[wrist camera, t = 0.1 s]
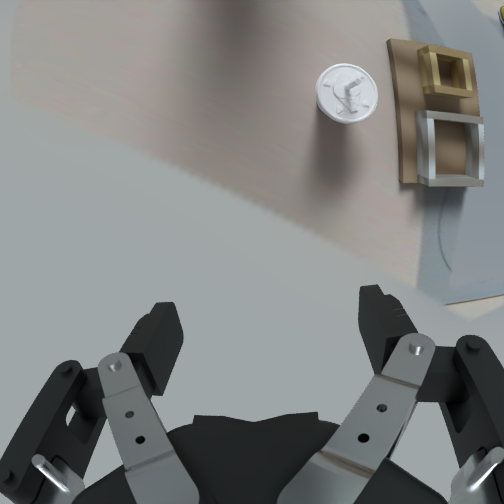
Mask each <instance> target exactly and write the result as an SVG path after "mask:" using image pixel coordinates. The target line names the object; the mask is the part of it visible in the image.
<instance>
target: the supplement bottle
mask: <svg viewBox="0 0 504 504" xmlns="http://www.w3.org/2000/svg"><path fill="white" fill-rule="evenodd" d="M499 16H500V19H501V21H502V23H503V24H504V6H502V7H500V9H499Z"/></svg>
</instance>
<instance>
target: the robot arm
mask: <svg viewBox="0 0 504 504" xmlns="http://www.w3.org/2000/svg"><path fill="white" fill-rule="evenodd" d="M358 323H359V330H360V333H361V336H362V339H363V341H364V344H365V347H366V350H367V353H368V356H369V359H370V362H371V365H372V368H373V371H374V374H375V375H374V376H373V378H372V380H371V381H370V383H369V384H368V386H367V387H366V389H365V390H364V392H363V393H362V395H361V396H360V398H359V399H358V401H357V402H356V404H355V405H354V407H353V409H352V410H351V411H350V413H349V414H348V415H347V417H346V418H345V420H344V421H343V423H342V424H341V425H338V424H335V423H332V422H328V421H321V420H319V419H318V412H309V413H297V414H286V415H282V416H278V417H274V418H270V419H266V420H262V421H257V422H250V421H245V420H240V419H234V418H230V417H226V416H202V415H194V419H193V423H192V424H188V425H184V426H181V427H178V428H176V429H173V430H171V431H169V432H168V433H167V431H166V429H165V427H164V425H163V423H162V422H161V420H160V418H159V416H158V414H157V412H156V410H155V408H154V406H153V404H152V402H151V400H150V399H151V397H152V395H156V396H162V395H163V393H164V391H165V388H166V385H167V383H168V380H169V377H170V375H171V372H172V370H173V367H174V365H175V362H176V359H177V357H178V354H179V352H180V349H181V347H182V344H183V330H182V327H181V324H180V320H179V317H178V313H177V310H176V307H175V304H174V303H173V302H161V303H160V302H159V303H156V304H155V305H154V307H153V308H152V310H151V312H150V313H149V314H146V315H144V317H142V318H141V319H140V320H139V321H138V322H137V324H136V325H135V327H134V329H133V330H132V332H131V333H130V334H131V335H129V336H128V338H127V340H126V341H125V343H124V344H123V346H122V348H121V350H120V351H119V352H117V353H112V354H110V355H107V356H106V357H104V358H103V359H102V360H101V361H100V362H99V364H98V367H96V368H90V369H83V368H82V366H81V365H80V363H79V362H78V361H76V360H69V361H65V362H63V363H61V364H60V365H58V366H57V367H56V369H55V370H54V371H53V373H52V374H51V376H50V377H49V379H48V380H47V382H46V383H45V385H44V387H43V388H42V389H41V391H40V393H39V394H38V396H37V397H36V399H35V400H34V402H33V404H32V406H31V407H30V409H29V410H28V412H27V414H26V415H25V417H24V419H23V420H22V422H21V424H20V426H19V427H18V429H17V431H16V432H15V434H14V436H13V438H12V440H11V441H10V443H9V445H8V447H7V449H6V451H5V452H4V454H3V456H2V458H1V460H0V492H1V493H2V494H3V495H4V496H6V497H7V498H8V499H10V500H11V501H12V502H13V503H14V504H504V368H503V367H502V365H501V363H500V361H499V360H498V359H497V357H496V355H495V354H494V352H493V350H492V349H491V347H490V346H489V344H488V343H487V342H486V341H485V340H484V339H483V338H481V337H478V336H475V335H465V336H463V337H461V338H460V339H458V341H457V343H456V347H442V346H435V343H434V341H433V340H432V339H431V338H430V337H428V336H426V335H424V334H419V333H418V331H417V329H416V328H415V326H414V324H413V323H412V321H411V320H410V318H409V316H408V315H407V313H406V311H405V309H403V306H402V305H401V303H400V301H399V300H397V299H396V298H395V297H393V296H392V295H384V294H383V292H382V291H381V289H380V287H379V286H378V285H377V284H376V285H368V286H361V287H360V292H359V313H358ZM418 402H438V403H439V405H440V408H441V411H442V414H443V417H444V419H445V422H446V425H447V428H448V431H449V434H450V438H451V441H452V444H453V447H454V450H455V454H456V457H457V460H458V464H459V468H460V470H459V471H458V472H457V474H456V475H455V476H454V478H453V480H452V483H451V497H450V501H449V502H447V501H446V500H445V498H444V497H443V496H442V495H440V494H439V493H438V492H436V491H435V490H433V489H432V488H430V487H429V486H427V485H426V484H424V483H423V482H421V481H420V480H418V479H417V478H415V477H414V476H412V475H411V474H409V473H408V472H407V471H405V470H404V469H402V468H401V467H399V466H398V465H397V464H395V463H394V462H392V461H391V460H390V459H391V457H392V455H393V453H394V451H395V449H396V447H397V445H398V443H399V441H400V439H401V437H402V435H403V433H404V431H405V429H406V427H407V425H408V423H409V421H410V419H411V417H412V415H413V412H414V410H415V408H416V406H417V403H418ZM71 406H73V408H74V409H75V410H76V411H75V413H74V415H73V417H72V419H71V421H70V423H69V425H68V426H67V424H66V415H67V413H68V411H69V409H70V408H71ZM107 418H108V421H109V425H110V428H111V431H112V434H113V437H114V440H115V443H116V445H117V448H118V451H119V454H120V456H121V459H122V461H123V465H121V466H120V467H118V468H117V469H116V470H114V471H112V472H111V473H109V474H108V475H106V476H105V477H103V478H102V479H100V480H99V481H97V482H95V483H94V484H92V485H91V486H89V487H88V488H86V489H85V485H84V482H83V478H84V475H85V472H86V469H87V467H88V464H89V462H90V459H91V456H92V454H93V451H94V448H95V446H96V444H97V441H98V439H99V436H100V433H101V431H102V429H103V426H104V424H105V421H106V419H107Z"/></svg>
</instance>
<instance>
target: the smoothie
mask: <svg viewBox="0 0 504 504" xmlns="http://www.w3.org/2000/svg"><path fill="white" fill-rule="evenodd" d="M315 94H316V99H317V104H318V107H319V108H320V110H321V111H322V112H324V113H325V114H326V115H327V116H328V117H330V118H331V119H332V120H335V121H337V122H339V123H344V124H354V123H358V122H361V121H363V120H365V119H367V118H368V117H369V116H370V115H371V114H372V113H373V112H374V110H375V108H376V106H377V102H378V91H377V87H376V85H375V83H374V81H373V79H372V78H371V76H370V75H369V74H368V73H367V72H366V71H364V70H363V69H361V68H359V67H357V66H355V65H351V64H337V65H334V66H331V67H330V68H328V69H327V70H325V71H324V72H323V73H322V74H321V75H320V77H319V78H318V81H317V83H316V90H315Z"/></svg>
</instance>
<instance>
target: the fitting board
mask: <svg viewBox="0 0 504 504" xmlns="http://www.w3.org/2000/svg"><path fill="white" fill-rule="evenodd" d="M387 46H388V52H389V58H390V65H391V72H392V79H393V87H394V96H395V106H396V117H397V131H398V149H399V181H400V182H402V183H422V184H424V185H426V186H429V187H435V186H469V187H470V186H471V187H483V186H484V185H483V184H484V126H483V117H480V113H479V112H480V111H479V100H478V90H477V83H476V75H475V68H474V62H473V57H472V53H468V52H464V51H460V50H455V49H451V48H447V47H442V46H437V45H431V44H426V43H420V42H413V41H406V40H399V39H389V40H388V41H387Z"/></svg>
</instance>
